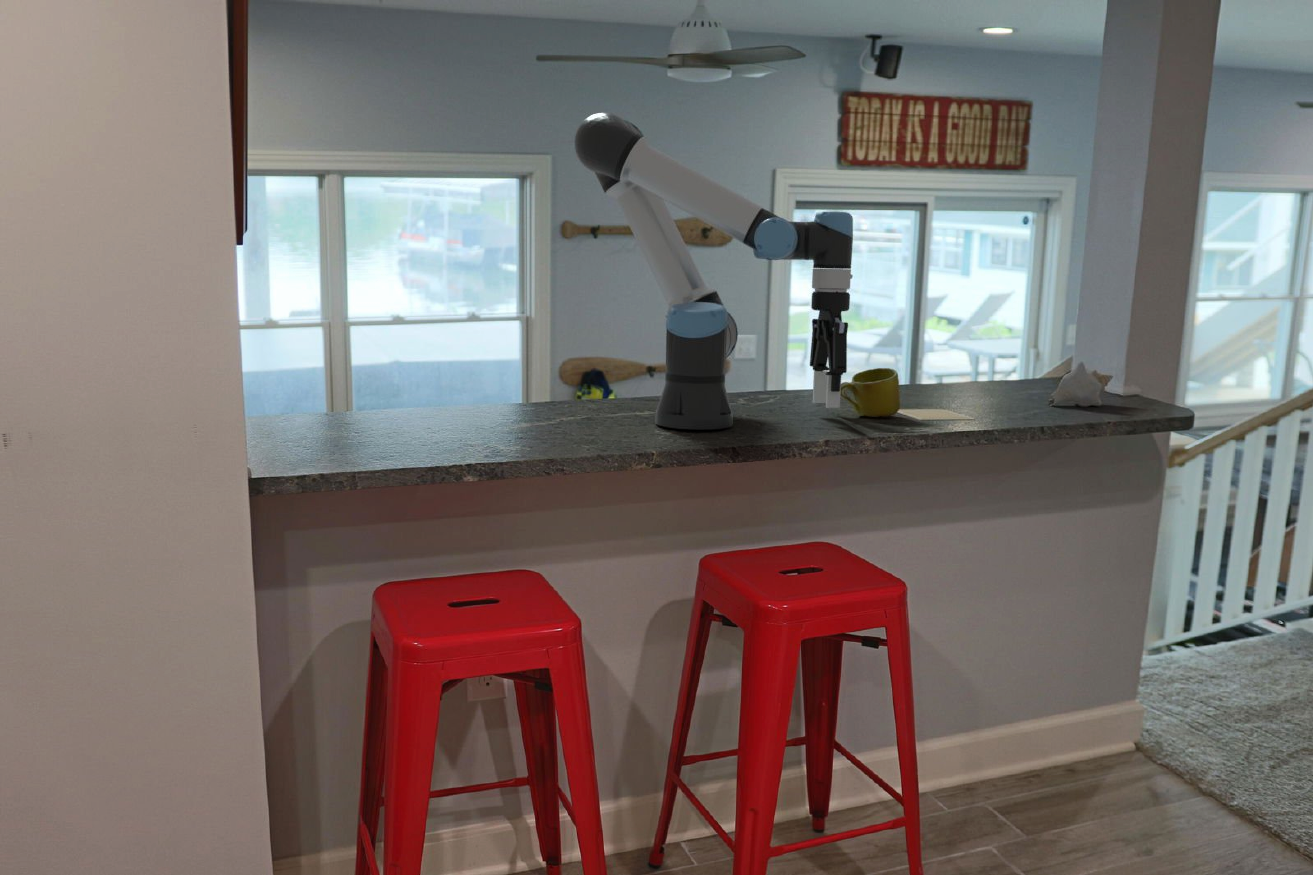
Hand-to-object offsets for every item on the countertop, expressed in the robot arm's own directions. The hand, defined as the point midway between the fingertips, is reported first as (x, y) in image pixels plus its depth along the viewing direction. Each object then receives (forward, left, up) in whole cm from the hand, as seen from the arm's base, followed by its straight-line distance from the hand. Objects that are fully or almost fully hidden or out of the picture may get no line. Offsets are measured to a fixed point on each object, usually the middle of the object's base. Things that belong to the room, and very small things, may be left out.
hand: (825, 405), depth 224 cm
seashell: (+59, +10, -4) cm, 60 cm away
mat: (+23, 0, -2) cm, 24 cm away
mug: (+11, 0, -2) cm, 11 cm away
